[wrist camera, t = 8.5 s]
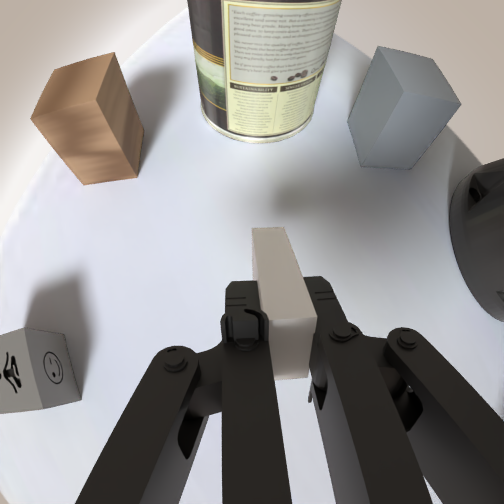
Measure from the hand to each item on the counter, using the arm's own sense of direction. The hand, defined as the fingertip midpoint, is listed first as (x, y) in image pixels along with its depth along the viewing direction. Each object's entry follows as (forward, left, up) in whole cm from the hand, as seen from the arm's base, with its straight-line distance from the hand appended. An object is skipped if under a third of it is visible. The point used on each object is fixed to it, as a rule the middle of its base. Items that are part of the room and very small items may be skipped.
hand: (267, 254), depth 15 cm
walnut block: (+9, -13, -6) cm, 17 cm away
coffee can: (-4, -16, -6) cm, 17 cm away
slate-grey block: (-13, -9, -6) cm, 17 cm away
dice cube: (+17, +3, -6) cm, 19 cm away
